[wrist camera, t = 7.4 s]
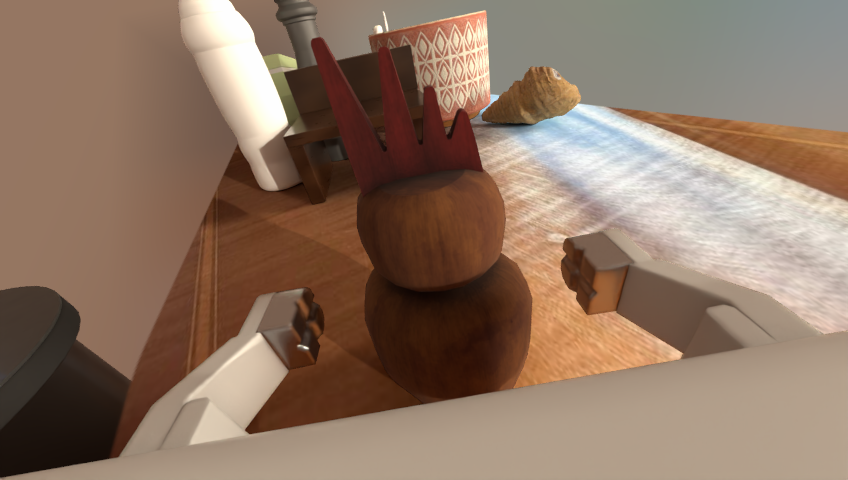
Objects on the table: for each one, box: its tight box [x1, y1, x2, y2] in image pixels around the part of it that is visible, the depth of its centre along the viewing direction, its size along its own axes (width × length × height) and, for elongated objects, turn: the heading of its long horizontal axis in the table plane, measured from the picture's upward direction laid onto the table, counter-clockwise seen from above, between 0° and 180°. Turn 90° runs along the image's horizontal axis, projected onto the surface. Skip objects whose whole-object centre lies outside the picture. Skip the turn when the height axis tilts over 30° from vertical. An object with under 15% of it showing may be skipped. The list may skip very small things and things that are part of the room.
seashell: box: [482, 67, 581, 124], centre depth 45 cm, size 14×8×8 cm
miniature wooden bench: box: [283, 45, 423, 204], centre depth 37 cm, size 16×12×13 cm
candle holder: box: [274, 0, 348, 161], centre depth 43 cm, size 6×6×25 cm
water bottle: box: [178, 0, 302, 191], centre depth 37 cm, size 7×7×25 cm
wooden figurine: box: [311, 37, 532, 404], centre depth 12 cm, size 7×6×15 cm
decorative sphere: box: [262, 54, 300, 126], centre depth 56 cm, size 15×15×15 cm
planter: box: [368, 10, 490, 127], centre depth 54 cm, size 19×19×15 cm
